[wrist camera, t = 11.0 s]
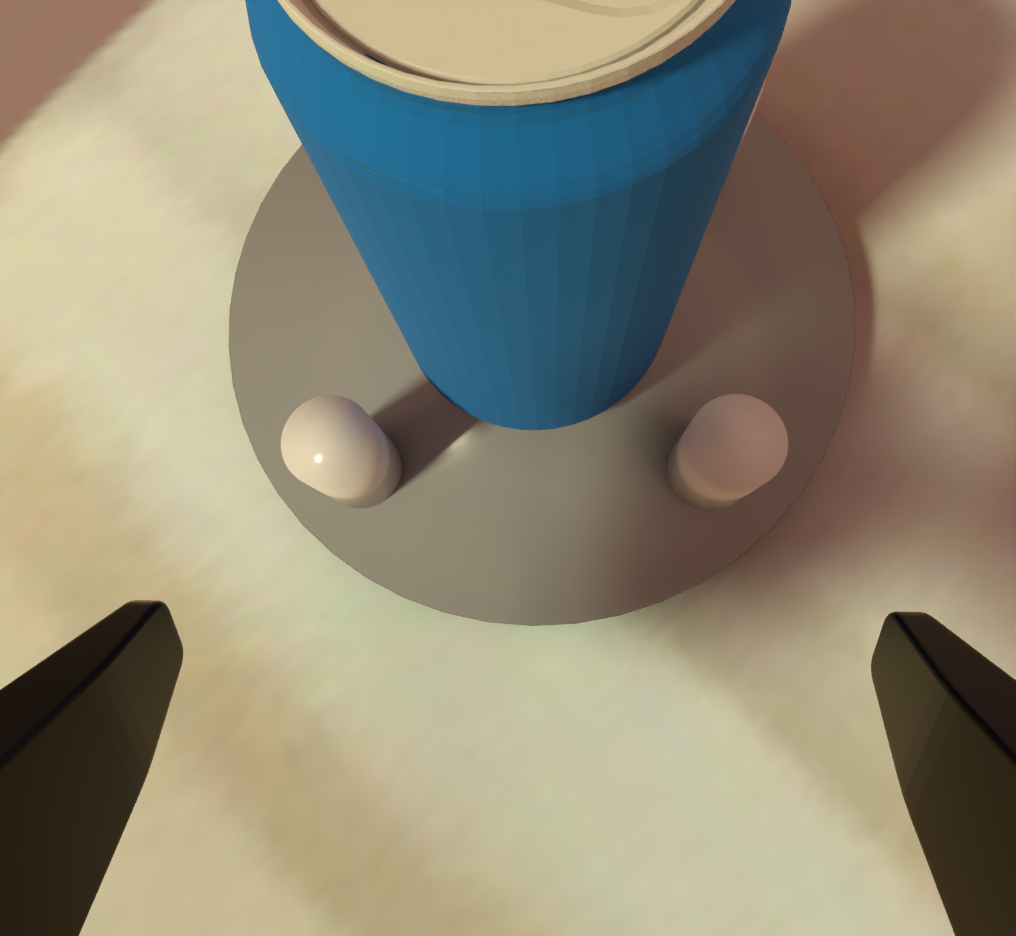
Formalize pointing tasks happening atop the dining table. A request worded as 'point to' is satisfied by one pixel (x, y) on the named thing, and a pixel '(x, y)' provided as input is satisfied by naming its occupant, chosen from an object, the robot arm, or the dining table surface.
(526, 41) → the beverage can
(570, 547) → the peg stand
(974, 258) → the dining table surface
